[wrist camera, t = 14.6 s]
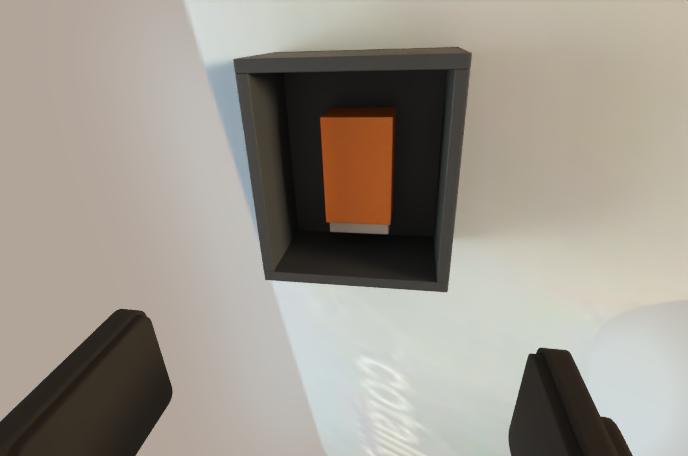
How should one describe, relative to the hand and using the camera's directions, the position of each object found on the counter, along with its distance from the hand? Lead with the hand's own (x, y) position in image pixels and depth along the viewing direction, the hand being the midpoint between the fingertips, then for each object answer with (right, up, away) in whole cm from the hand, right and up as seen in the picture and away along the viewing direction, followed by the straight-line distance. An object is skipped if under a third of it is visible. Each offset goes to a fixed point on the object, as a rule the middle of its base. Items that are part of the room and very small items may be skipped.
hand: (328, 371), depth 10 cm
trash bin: (+2, +10, +23) cm, 25 cm away
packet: (+2, +9, +22) cm, 24 cm away
